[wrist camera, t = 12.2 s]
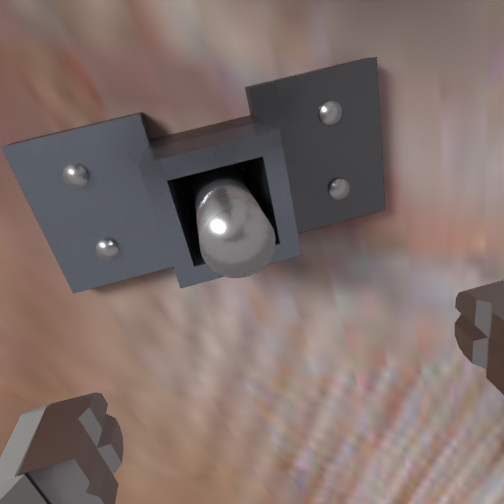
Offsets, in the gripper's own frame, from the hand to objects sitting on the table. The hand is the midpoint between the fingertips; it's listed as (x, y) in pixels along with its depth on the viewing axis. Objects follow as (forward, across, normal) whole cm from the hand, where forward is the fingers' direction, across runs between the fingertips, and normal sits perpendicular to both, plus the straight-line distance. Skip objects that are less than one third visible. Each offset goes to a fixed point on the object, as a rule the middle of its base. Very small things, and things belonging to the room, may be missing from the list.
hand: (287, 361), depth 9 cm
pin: (+19, 0, 0) cm, 19 cm away
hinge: (+19, 0, 0) cm, 19 cm away
